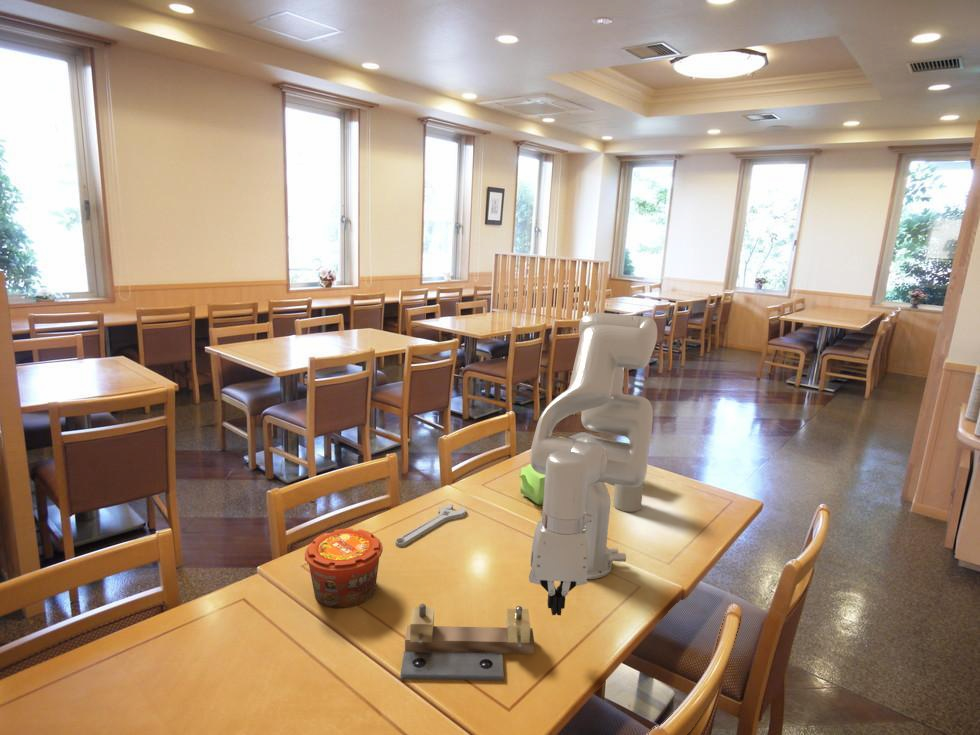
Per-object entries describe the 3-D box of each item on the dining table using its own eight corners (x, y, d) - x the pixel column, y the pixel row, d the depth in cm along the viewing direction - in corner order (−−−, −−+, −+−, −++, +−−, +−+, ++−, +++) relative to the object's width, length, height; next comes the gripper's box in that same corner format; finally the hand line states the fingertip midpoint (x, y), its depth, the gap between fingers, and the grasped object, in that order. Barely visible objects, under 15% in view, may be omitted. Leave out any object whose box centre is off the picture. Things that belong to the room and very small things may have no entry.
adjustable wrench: (400, 550, 144) (400, 543, 144) (383, 540, 148) (383, 534, 148) (469, 514, 163) (469, 508, 163) (452, 507, 167) (452, 501, 167)
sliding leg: (527, 624, 114) (528, 599, 113) (530, 651, 107) (532, 625, 106) (506, 624, 114) (507, 599, 113) (508, 651, 107) (509, 624, 106)
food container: (290, 601, 123) (288, 555, 120) (336, 562, 137) (335, 520, 135) (355, 622, 117) (354, 574, 115) (396, 579, 132) (396, 536, 129)
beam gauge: (531, 637, 115) (533, 600, 113) (535, 664, 108) (537, 625, 106) (407, 635, 114) (408, 597, 112) (403, 662, 107) (403, 622, 105)
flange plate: (501, 658, 109) (502, 653, 109) (503, 680, 104) (503, 675, 103) (404, 656, 108) (404, 651, 108) (400, 678, 103) (400, 673, 103)
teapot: (569, 491, 180) (571, 458, 177) (568, 511, 167) (571, 476, 164) (519, 485, 182) (521, 453, 179) (514, 505, 169) (516, 471, 166)
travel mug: (644, 505, 172) (650, 447, 168) (635, 515, 166) (641, 455, 162) (618, 497, 177) (624, 441, 172) (608, 507, 170) (614, 448, 166)
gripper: (599, 512, 110) (591, 600, 114) (519, 509, 109) (514, 597, 113) (608, 531, 103) (599, 624, 106) (523, 528, 102) (516, 622, 106)
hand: (555, 610), depth 110 cm, fingers closed
